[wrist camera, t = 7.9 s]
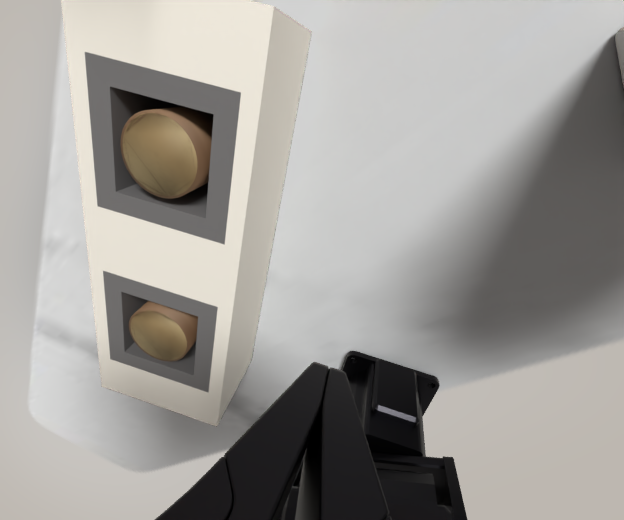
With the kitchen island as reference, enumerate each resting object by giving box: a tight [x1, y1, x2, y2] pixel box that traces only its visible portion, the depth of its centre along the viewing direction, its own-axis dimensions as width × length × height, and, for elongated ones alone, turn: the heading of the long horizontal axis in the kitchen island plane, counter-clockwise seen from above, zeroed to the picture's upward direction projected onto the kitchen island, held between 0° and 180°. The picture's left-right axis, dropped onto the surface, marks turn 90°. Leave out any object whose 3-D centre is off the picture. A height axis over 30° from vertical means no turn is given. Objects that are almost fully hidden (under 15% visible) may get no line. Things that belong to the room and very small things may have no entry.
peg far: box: [129, 301, 198, 362], centre depth 22 cm, size 4×4×6 cm
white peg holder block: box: [61, 0, 312, 427], centre depth 20 cm, size 22×8×6 cm, turn 167°
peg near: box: [120, 106, 214, 199], centre depth 17 cm, size 4×4×6 cm
